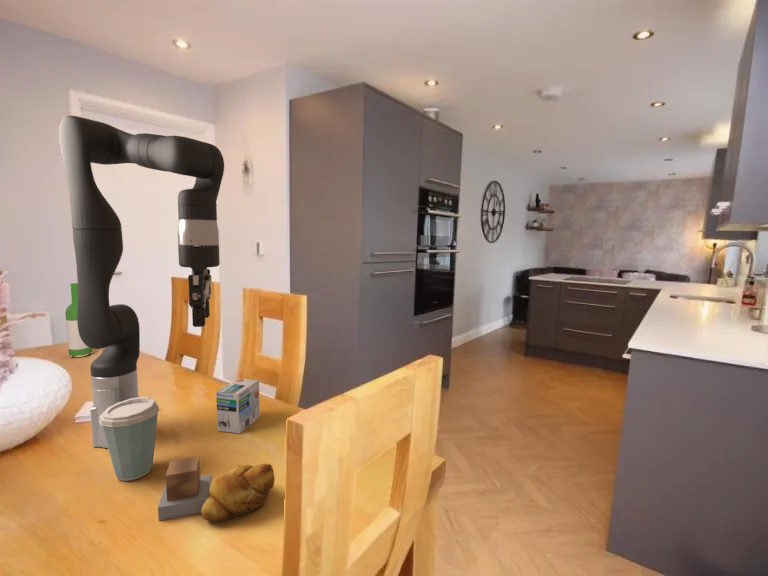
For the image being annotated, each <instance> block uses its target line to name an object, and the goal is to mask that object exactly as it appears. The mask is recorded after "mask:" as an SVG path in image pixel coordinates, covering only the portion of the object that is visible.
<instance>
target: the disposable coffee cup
mask: <svg viewBox="0 0 768 576" xmlns="http://www.w3.org/2000/svg"><path fill="white" fill-rule="evenodd" d="M156 402H157V401H156V400H155V399H154V398H153V397H150V396H149V397H148V396H139V397H138V398H131V399H128V400H125V401H122V402H118V403H116V404H114V405H112V406H110V407H108V408H107V409H106V410H105V411H104V412H103V413H102V415H100V417H99V422H100V424H101V425H102V429H103V432H104V436H105V439H106V443H107V446H108V448H107V449H108V453H109V456H110V461H111V463H112V467H113V471H114V474H115V477H116V478H117V479H118V480H119V481H123V482H128V481H134V480H137V479H141V478H143V477H144V476H146V475H148V474H149V473H150V471H151V470H152V467H153V465H154V456H155V446H156V435H157V426H158V415H159V412H160V406H159V405H158V404H157V403H156Z"/></svg>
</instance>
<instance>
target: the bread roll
mask: <svg viewBox="0 0 768 576" xmlns="http://www.w3.org/2000/svg"><path fill="white" fill-rule="evenodd" d="M274 472H275V471H274V469H273V466H272V464H270V463H262V464H256V465H251V464H243V465H242V464H241V465H239V464H238V465H237V466H236V467H234V468H233V469H232V470H231V471H230V472H229V473H222V474H220V475H218V476H217V477H216V478H214V479H213V480H212V481H211V485H210V488H209V498H208V499H207V500H206V501H205V503H204V504H203V507H202V510H201V513H200V514H201V515H202V518H203V519H204V520H205V521H207V522H209V523H210V522H211V523H218V522H220V523H221V522H224V521H226V520H228V519H230V518H232V517H234V516H243V515H246V514H249V513H252V512H255V511H257V510H258V509H259V508H261V507H262V506H263V505H264V504H265V503H266V501H268V498H269V495H270V494H269V493H270V491H271V490H272V489H273V488H274V485H275V473H274Z"/></svg>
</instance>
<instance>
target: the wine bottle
mask: <svg viewBox="0 0 768 576" xmlns="http://www.w3.org/2000/svg"><path fill="white" fill-rule="evenodd" d="M70 294H71V295H70V297H71V303H70V304H69V305H68V306H67V307H66V310H65V325H66V335H67V336H66V337H67V338H66V339H67V346H68V347H67V348H68V355H72V356H77V355H85V354H89V353H91V352H92V353H93V349H92V348H90V347H88V346H86V345H85V344H84V343H83V341H82V340H81V338H80V335H79V331H78V324H77V307H78V282H76V283H75V282H74V283H70Z"/></svg>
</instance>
